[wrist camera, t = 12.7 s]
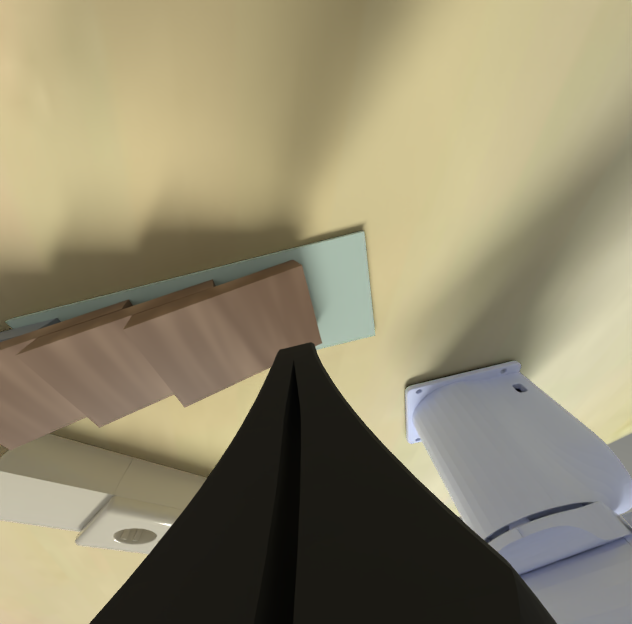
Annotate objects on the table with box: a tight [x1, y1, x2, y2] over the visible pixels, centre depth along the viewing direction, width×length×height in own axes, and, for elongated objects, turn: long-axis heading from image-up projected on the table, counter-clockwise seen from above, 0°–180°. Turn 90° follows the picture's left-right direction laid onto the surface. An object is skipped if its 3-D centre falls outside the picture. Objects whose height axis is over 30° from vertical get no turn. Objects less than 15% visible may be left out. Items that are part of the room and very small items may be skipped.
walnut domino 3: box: [123, 260, 322, 407], centre depth 12 cm, size 1×5×8 cm
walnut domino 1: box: [0, 299, 133, 450], centre depth 12 cm, size 1×5×8 cm
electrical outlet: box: [0, 434, 207, 554], centre depth 20 cm, size 7×4×18 cm
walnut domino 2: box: [15, 279, 216, 427], centre depth 12 cm, size 1×5×8 cm
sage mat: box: [5, 230, 375, 350], centre depth 14 cm, size 20×7×1 cm, turn 102°
